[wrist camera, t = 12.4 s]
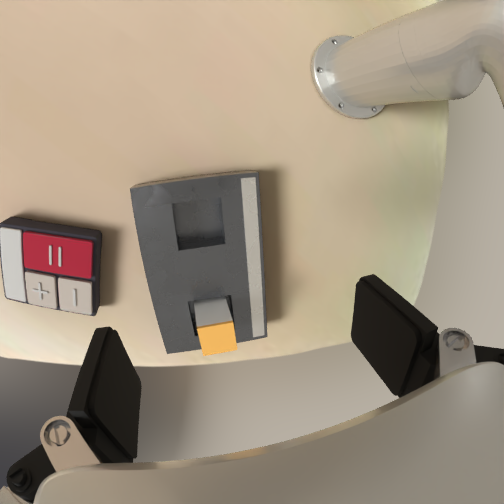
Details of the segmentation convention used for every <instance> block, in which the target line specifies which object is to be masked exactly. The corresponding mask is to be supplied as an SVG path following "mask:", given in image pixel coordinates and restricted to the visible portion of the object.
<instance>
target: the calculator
mask: <svg viewBox="0 0 504 504" xmlns="http://www.w3.org/2000/svg"><path fill="white" fill-rule="evenodd" d="M101 241H102V233H101V231H98V230H92V229H86V228H80V227H73V226H67V225H60V224H53V223H46V222H39V221H33V220H30V219H24V218H18V217H10V218H8V219H6V220H5V221H3V222H1V223H0V258H1V269H2V278H3V285H4V292H5V297H6V298H7V299H9V300H14V301H18V302H22V303H27V304H31V305H36V306H41V307H46V308H51V309H56V310H61V311H66V312H72V313H78V314H84V315H90V316H95V315H96V313H97V310H98V308H99V304H100V258H101Z"/></svg>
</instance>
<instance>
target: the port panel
mask: <svg viewBox="0 0 504 504" xmlns="http://www.w3.org/2000/svg"><path fill="white" fill-rule="evenodd" d="M130 192H131V199H132V206H133V212H134V218H135V224H136V229H137V235H138V240H139V245H140V250H141V255H142V260H143V264H144V269H145V273H146V278H147V282H148V286H149V290H150V294H151V298H152V302H153V306H154V310H155V314H156V317H157V321H158V325H159V328H160V332H161V335H162V338H163V342H164V345H165V348H166V352H167V354H170V353H177V352H184V351H191V350H198V349H202V348H201V344H200V340H199V335H198V331H197V325H196V317H195V308H194V301H195V300H201V299H208V298H214V297H220V296H225V298H226V301H227V304H228V307H229V311H230V314H231V317H232V320H233V324H234V331H235V337H236V343H239V342H245V341H250V340H255V339H260V338H265V337H267V320H266V299H265V279H264V259H263V241H262V223H261V206H260V189H259V172H256V171H252V170H246V171H235V172H225V173H216V174H207V175H199V176H191V177H183V178H176V179H169V180H162V181H156V182H150V183H143V184H138V185H134V186H133V187H132V188H130Z"/></svg>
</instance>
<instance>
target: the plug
mask: <svg viewBox="0 0 504 504" xmlns="http://www.w3.org/2000/svg"><path fill="white" fill-rule="evenodd" d="M194 308H195V317H196V325H197V331H198V335H199V340H200V344H201V348H202V352H203V356H206V355H212V354H217V353H223V352H228V351H233V350H237V344H236V337H235V331H234V324H233V320H232V317H231V314H230V311H229V307H228V304H227V301H226V298H225V296H220V297H214V298H208V299H201V300H195V301H194Z"/></svg>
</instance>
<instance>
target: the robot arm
mask: <svg viewBox="0 0 504 504" xmlns="http://www.w3.org/2000/svg"><path fill="white" fill-rule="evenodd" d="M317 70H318V71H317ZM311 72H312V77H313V81H314V84H315V86H316V88H317V90H318V92H319V94H320V95H321V97H322V98H323V99H324V101H325V102H326V103H327V104H328V105H329V106H330V107H331V108H333V109H334V110H335V111H337V112H338V113H340V114H342V115H344V116H347V117H350V118H355V119H361V118H369V117H372V116H374V115H376V114H377V113H379V112H380V111H381V110H382V109H383V108H384V106H385V105H387V104H396V103H406V102H419V101H436V100H455V99H461V98H464V97H467V96H468V95H470V94H471V93H473V92H474V91H475V90H476V88H477V87H478V86H479V84H480V83H481V81H482V79H483V77H484V75H485V73H488V74H489V76H490V77H491V78H492V80H493V82H494V85H495V87H496V89H497V92H498V94H499V95H500V98H501V101H502V104H503V107H504V0H443V1H440V2H437V3H435V4H432V5H430V6H427V7H425V8H422V9H419V10H417V11H414V12H411V13H409V14H406V15H404V16H401V17H399V18H396V19H394V20H391V21H389V22H387V23H384V24H382V25H380V26H378V27H375V28H373V29H371V30H369V31H367V32H365V33H363V34H361V35H359V36H357V37H355V38H354V37H351V36H344V35H341V36H334V37H331V38H329V39H327V40H325V41H324V42H322V43H321V44H320V45H319V46H318V47H317V49H316V50H315V52H314V54H313V57H312V63H311ZM338 105H339V106H338ZM437 330H438V327H437V326H436V325H435V324H433V323H432V322H431V321H430V320H429V319H428V318H427V317H425V316H424V315H423V314H422V313H421V312H420V311H418V310H417V309H416V308H415V307H414V306H413V305H411V304H410V303H409V302H408V301H407V300H405V299H404V298H403V297H402V296H401V295H399V294H398V293H397V292H396V291H394V290H393V289H392V288H391V287H390V286H388V285H387V284H386V283H385V282H383V281H382V280H381V279H380V278H378V277H377V276H376V275H374V274H372V275H368V276H364V277H361V278H360V280H359V282H357V284H356V292H355V303H354V313H353V322H352V330H351V338H352V341H353V343H354V344H355V345H356V346H357V348H358V349H359V350H360V351H361V353H362V354H363V355H364V357H365V358H366V359H367V361H368V362H369V363H370V364H371V366H372V367H373V368H374V370H375V371H376V372H377V374H378V375H379V376H380V378H381V379H382V380H383V382H384V383H385V384H386V386H387V387H388V388H389V389H390V391H391V392H392V393H393V394H394V395H398V397H399V399H397V400H395V401H392V402H390V403H388V404H386V405H384V406H382V407H379V408H377V409H375V410H373V411H370V412H368V413H366V414H363V415H361V416H358V417H356V418H353V419H351V420H348V421H346V422H343V423H340V424H338V425H335V426H332V427H329V428H326V429H324V430H320V431H317V432H314V433H311V434H308V435H305V436H301V437H298V438H295V439H291V440H288V441H284V442H280V443H276V444H272V445H268V446H264V447H260V448H255V449H250V450H245V451H241V452H235V453H230V454H224V455H218V456H211V457H204V458H196V459H187V460H175V461H162V462H146V463H133V458H136V457H137V443H138V424H139V409H140V398H141V381H140V378H139V376H138V375H137V373H136V371H135V369H134V367H133V365H132V363H131V360H130V358H129V356H128V354H127V352H126V350H125V348H124V346H123V343H122V341H121V339H120V337H119V335H118V332H117V331H116V330H113V329H112V328H111V327H103V328H97V329H96V330H95V332H94V334H93V337H92V339H91V342H90V345H89V348H88V350H87V353H86V356H85V359H84V362H83V364H82V367H81V370H80V372H79V375H78V378H77V382H76V385H75V388H74V391H73V394H72V398H71V401H70V405H69V408H68V412H67V416H66V417H65V416H56V417H53V418H51V419H50V420H48V421H47V422H46V423H45V424H44V426H43V427H42V430H41V434H40V438H41V442H42V444H41V445H40V446H38V447H37V448H36V449H34V450H33V451H31V452H30V453H29V454H27V455H26V456H24V457H23V458H22V459H20V460H19V461H17V462H16V463H15V464H13V465H12V466H11V467H10V469H9V471H8V474H7V483H8V487H7V488H6V487H5V486H3V487H2V489H1V490H0V504H504V349H499V348H491V347H484V346H477V345H474V344H473V341H472V338H471V337H470V335H469V334H467V333H466V332H465V331H463V330H461V329H457V328H448V329H445V330H444V331H442V332H441V334H439V333H437Z"/></svg>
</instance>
